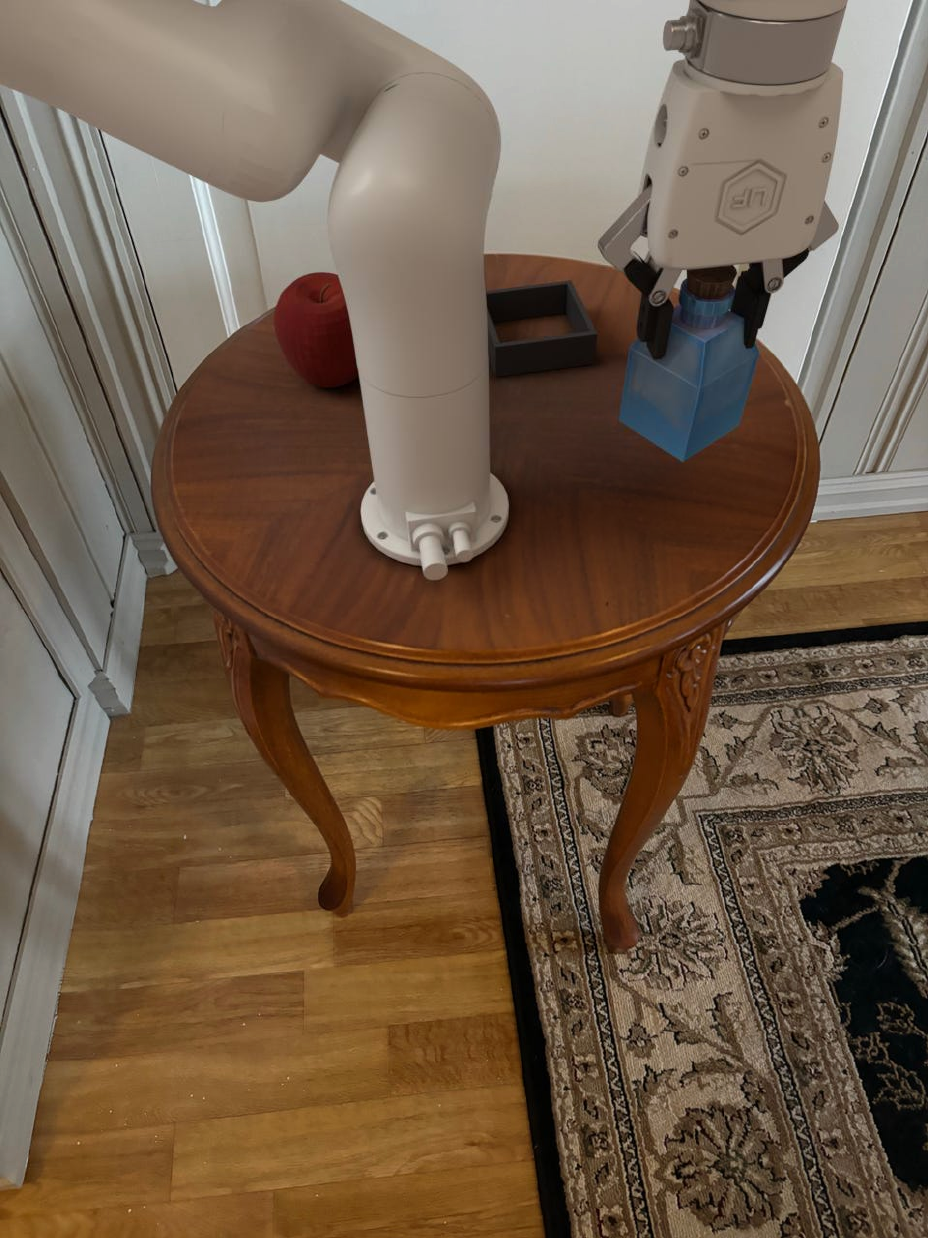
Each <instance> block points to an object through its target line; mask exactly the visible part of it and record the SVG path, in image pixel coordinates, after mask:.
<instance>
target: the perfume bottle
mask: <svg viewBox="0 0 928 1238" xmlns="http://www.w3.org/2000/svg"><path fill="white" fill-rule="evenodd" d="M737 275H738V270H737V268H736V266H735V265H730V266H720V267H711V268H701V269H690V270H686V277H685V279H684V280H682V281H681V284H680V287H679V292H678V298H677V299H678V305H676V306H673V307H674V312H673V317H672V323H671V328H670V333H669V339H668V344H667V349H666V355H665V356H664V357H663V358H662V359H658V360H654V359H653V358H652V356H651V354H650V352H649V350H648V348H647V345H646V342H640V340H639V338H638V337H637V339H636V340H635V341H634V342H633V343H632V345H631V346H630V347H629V352H628V358H627V364H626V371H625V376H624V383H623V390H622V397H621V402H620V403H621V404H620V411H619V418H618V421H619V422H621V423H622V424H623V425H625V426H627V427H628V428H629V429H631V430H633V431H634V432H636V433H637V434H639V435H640V436H641V437H643V438H645V439H647V440H648V441H650V443H653V444H654V445H656V446H657V447H658V448H660V449H662V450H663V451H665V452H666V453H668V454H670V455H671V456H672V457H674V458H676V459H677V460H679V461H680V462H682V463H684V462H685V461H688V460H689V459H690V458H691V457H694V456H695V455H696V454H698V453H700V452H701V451H703V450H704V449H705V448H707V447H709V446H711V445H712V444H713V443H715V442H717V441H718V440H719V439H721V438H723V437H724V436H726V435H727V434H729V433H730V432H732V431H733V430H735V429H737V428H738V427H739V426H740V424H741V420H742V416H743V414H744V410H745V407H746V403H747V400H748V396H749V392H750V388H751V385H752V381H753V379H754V378H753V377H754V376H755V375H754V374H755V371H756V367H757V364H758V360H759V356H760V350H759V348H758V346H757V343H756V342H755V344H754V347H753V348H750V349H746V346H745V345H744V320H745V319H744V318H742V317H740V316H738V315H736V314H734V313H732V312H730V309H731V306H732V303H733V299H734V294H735V288H736V287H735V285H733V284H734V281H735V279H736V277H737Z"/></svg>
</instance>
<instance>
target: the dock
mask: <svg viewBox="0 0 928 1238" xmlns="http://www.w3.org/2000/svg"><path fill="white" fill-rule="evenodd" d="M486 302H487V324H488V357H489V364H490V365H491V368H492V371H493V374H494V377H495V378H500V377H501V378H502V377H510V376H516V375H522V374H523V375H524V374H530V373H537V372H538V373H539V372H545V371H553V370H561V369H568V368H575V367H583V366H589V365H590V366H591V365H595V363H596V353H597V343H598V342H597V341H598V332H597V330H596V328H595V325H594V324H593V322H592V320H591V318H590V316H589V314H588V312H587V310H586V308H585V305H584V303H583V301H582V299H581V297H580V295H579V293H578V291H577V289H576V287H575V285H574V283H573V280H571V279H569V280H562V281H554V282H553V281H552V282H545V283H538V284H537V283H536V284H530V285H523V286H522V285H521V286H513V287H506V288H498V289H490V290H486ZM564 314H565V315H566V318H567V320H568V322H569V324H570V327H571V328H572V331H573V333H567V334H566V333H565V334H559V335H550V336H544V337H537V338H530V339H528V338H527V339H521V340H520V339H519V340H513V341H505V342H500V339H499V337H498V333H497V332H496V328H495V325H494V324H495V323H503V322H510V321H518V320H519V321H520V320H525V319H535V318H542V317H549V316H557V315H564Z"/></svg>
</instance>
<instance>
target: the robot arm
mask: <svg viewBox="0 0 928 1238" xmlns="http://www.w3.org/2000/svg"><path fill="white" fill-rule="evenodd" d="M848 1H849V0H689V4H688V8H687V9H688V10H687V12H686V14H685V15H681V16H680V17H679V18H678V19H671V20H666V22H665V24H664V26H663V32H662V44H663V48H664V51H666V52H668V51H669V52H670V51H677V53H679V54H682V55H683V56H684V59H680V60H676V61H674V63H673V64H672V67H671V70H670V72H669V75H668V77H667V79H666V83H665V86H664V88H663V91H662V95H661V98H660V101H659V104H658V107H657V110H656V111H657V112H656V113H655V117H654V121H653V124H652V128H651V132H650V135H649V140H648V144H647V148H646V153H645V157H644V163H643V167H642V171H641V177H640V182H639V187H638V193H637V197H636V199H634V200H633V202H631V203H630V205H629V206H628V207H627V208H626V209H625V210H624V212H623V213H621V215H620V216H619V217H618V218H617V219H616V220H615V221H614V222H613V223H612V225H611V226H610V227H609V228H608V229H607V230H606V231H605V232H604V233H603V234H602V235H601V236H600V238H599V239H598V241H597V247H598V249H599V252H600V254H601V255H602V257H603V259H604V260H605V261H606V262H607V263H609V264H610V265H611V266H612V267H614V268H615V269H616V270H617V271H618V272H619V273H621V274H622V275H623V276H625V277H626V278H627V280H628V281H629V282H630V283H631V284H632V285H633V286H634V287H635V288H636V289H637V290H638V291H639V292H640V293H641V295H640V303H639V309H638V315H637V322H636V336H637V339H638V338H639V340H640V342H646V345H647V348H648V350H649V352H650V354H651V356H652V358H653V359H654V360H658V359H662V358H663V357H664V356H665V355H666V349H667V344H668V339H669V333H670V328H671V323H672V317H673V312H674V307H675V306H674V304H673V303H672V301H671V299H670V294H671V293H672V291H673V290H674V287H675V285H676V283H677V282H678V279H679V277H680V276H681V273H683V271H687V270H690V269H701V268H711V267H720V266H730V265H733V266H737V265H748V269H747V270H741V271H740V274H739V276H737V281H736V284H735V287H734V288H735V294H734V299H733V303H732V306H731V308H730V310H729V311H730V312H732V313H734V314H736V315H738V316H740V317H742V318H744V319H745V320H744V345H745V346H746V349H750V348H753V347H754V344H755V343H756V339H757V336H758V334H759V333H758V332H759V330H760V329H762V328H763V325H764V322H765V320H766V315H767V312H768V308H769V304H770V301H771V297H772V294H774V293H777V292H779V291H780V290H781V289H782V287H783V285H784V279H786V277H787V276H789V275H791V273H792V272H793V271H795V270H796V269H797V268H798V267H799V266H801V264H802V263H804V262H805V261H806V260H807V258H808V257H809V255H810V253H811V252H814V251H816V250H817V249H818V248H820V247H821V246H822V245H823V244H824V243H825V242H827V241H828V240H829V239H831V238H833V236H835V234H836V233H837V232H838V230H839V228H840V224H839V222H838V221H837V219H836V217H835V215H834V214H833V212H832V210H831V208H830V206H829V204H828V203H827V202H826V200H825V199H826V195H827V190H828V186H829V182H830V177H831V173H832V172H831V171H832V166H833V162H834V157H835V153H836V145H837V140H838V133H839V125H840V116H841V107H842V98H843V84H844V71H843V69H842V68H841V67H840V66H839V65H838V64H836V63H834V62H832V61H833V57H834V54H835V50H836V46H837V42H838V39H839V36H840V33H841V32H840V31H841V28H842V23H843V20H844V17H845V14H846V9H847V6H848ZM0 85H2V86H3V87H6V88H8V89H11V90H13V91H16V92H18V93H20V94H23V95H25V96H27V97H30V98H32V99H35V100H37V101H39V102H42V103H44V104H46V105H48V106H50V107H54V108H56V109H57V110H60V111H62V112H64V113H66V114H69V115H71V116H73V117H75V118H77V119H78V120H81V121H82V122H84V123H87V124H89V125H91V126H92V127H94V128H96V129H97V130H99V131H101V132H103V133H105V134H107V135H109V136H111V137H112V138H114V139H117V140H118V141H121V142H122V143H124V144H127V145H128V146H131V147H133V148H134V149H136V150H138V151H140V152H143V153H145V154H147V155H149V156H151V157H153V158H155V159H157V160H159V161H161V162H163V163H166V164H167V165H169V166H172V167H173V168H175V169H177V170H179V171H181V172H183V173H185V174H188V175H189V176H192V177H194V178H196V179H197V180H200V181H201V182H203V183H205V184H208V185H209V186H212V187H213V188H215V189H218V190H219V191H222V192H224V193H227V194H229V195H230V196H234V197H236V198H239V199H242V200H245V201H250V202H256V203H267V202H268V203H269V202H274V201H278V200H280V199H282V198H284V197H286V196H287V195H290V194H291V193H292V192H293V191H295V189H297V187H298V186H299V185H301V183H302V182H303V180H305V178H306V177H307V175H308V174H309V173H310V171H311V170H312V169H313V167H314V165H315V164H316V162H317V160H318V159H319V157H320V155H321V156H323V157H325V158H327V159H329V160H331V161H334V162H335V163H337V164H339V165H338V166H337V169H336V172H335V175H334V178H333V181H332V185H331V188H330V191H329V198H328V204H327V205H328V206H327V218H326V219H327V236H328V243H329V248H330V252H331V257H332V260H333V264H334V267H335V271H336V274H337V275H338V277H339V280H340V283H341V286H342V290H343V293H344V297H345V300H346V305H347V309H348V314H349V319H350V324H351V330H352V335H353V342H354V349H355V355H356V362H357V368H358V372H359V376H358V379H359V385H360V391H361V392H360V393H361V398H362V406H363V413H364V419H365V427H366V433H367V439H368V440H367V441H368V446H369V447H368V448H369V453H370V461H371V467H372V472H373V474H372V475H373V482H372V483H371V484H370V485H369V487H368V488H367V490H366V491H365V493H364V495H363V498H362V500H361V505H360V516H361V518H360V519H361V524H362V527H363V531H364V534H365V536H366V537H367V539H368V541H369V542H370V543H371V544H372V545H373V546H374V547H375V548H376V549H377V550H378V551H379V552H381V553H382V554H384V555H385V556H387V557H389V558H391V559H394V560H396V561H398V562H401V563H405V564H408V565H411V566H420V567H421V568H422V569H421V570H422V573H423V577H424V578H426V580H429V581H439V580H441V579H443V578H445V577H446V576H447V575H448V572H449V569H448V568H449V567H448V566H449V565H456V564H459V563H467V562H470V561H471V560H472V559H474V558H475V557H477V556H479V555H481V554H483V553H484V552H485V551H487V550H488V549H490V548H491V547H492V546H494V544H495V543H496V542H497V541H498V540H499V539H500V538H501V536H502V535H503V533H504V532H505V529H506V527H507V524H508V521H509V515H510V514H509V513H510V512H509V511H510V503H509V498H508V497H509V496H508V493H507V491H506V489H505V487H504V485H503V484H502V482H501V481H500V480H499V478H497V476H495V475H494V474H493V473H492V472H491V440H490V439H491V438H490V437H491V436H490V434H491V433H490V430H491V429H490V428H491V427H490V369H489V368H490V366H489V365H490V360H489V357H488V324H487V302H486V291H487V290H486V279H485V278H486V277H485V237H486V228H487V218H488V214H489V209H490V205H491V202H492V197H493V192H494V191H493V190H494V185H495V181H496V177H497V174H498V170H499V164H500V161H501V160H500V158H501V151H502V134H501V127H500V122H499V119H498V115H497V111H496V110H495V107H494V105H493V103H492V101H491V99H490V97H489V96H488V95H487V94H486V92H485V90H484V89H483V88H482V86H481V85H480V84H479V83H478V82H477V81H475V79H474V78H472V76H470V75H469V74H468V73H466V72H465V71H464V70H463V69H461V68H460V67H458V66H457V65H455V64H454V63H453V62H451V61H449V60H447V59H446V58H445V57H443V56H441V55H439V54H437V53H436V52H434V51H432V50H430V49H429V48H427V47H425V46H423V45H422V44H420V43H418V42H416V41H414V40H413V39H411V38H409V37H408V36H406V35H403V34H402V33H401V32H398V31H397V30H395V29H393V28H391V27H389V26H388V25H386V24H384V23H382V22H380V21H379V20H377V19H375V18H373V17H372V16H370V15H368V14H366V13H365V12H363V11H361V10H359V9H357V8H356V7H354V6H352V5H350V4H349V3H347V2H345V1H343V0H220V1H219V2H218V3H217V4H216V5H214V6H213V5H212V6H211V5H208V4H205V3H202V2H199V1H196V0H0ZM640 237H642V238H643V237H644V238H647V248H648V251H647V253H646V255H645V257H644V259H643V258H642V257H641V256H640V255H639V254H638V253H637V252H635V251H634V250H632V249H631V248H632V246H633V244H634V243H635V242H636V241H637V240H638V239H639V238H640Z"/></svg>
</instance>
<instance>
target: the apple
mask: <svg viewBox="0 0 928 1238" xmlns="http://www.w3.org/2000/svg"><path fill="white" fill-rule="evenodd" d="M273 327H274V332H275V333H274V334H275V336H276V340H277V342H278V345H279V348H280V350H281V352H282V354H283V356H284V357H285V359H286V361H287V363H288V364H289V365H290V367H291V369H293V371H294V372H295V373H296V375H298V376H299V377H300V378H301V379H302V380H303V381H304V382H306V383H308V384H310V385H312V386H314V387H318V388H328V389H329V388H336V387H342V386H345V385H347V384H350V383H351V382H353V381H354V380H356V379H357V378H359V372H358V368H357V362H356V355H355V349H354V342H353V335H352V330H351V324H350V319H349V314H348V309H347V305H346V300H345V297H344V293H343V290H342V286H341V283H340V280H339V277H338V274H337V273H332V272H327V271H325V272H324V271H319V272H318V271H317V272H311V273H306V274H303V275H301V276H299V277H297V278H296V279H294V280H293V281H292V282H291V283H290V284H289V285H288V286H286V288H285V289H283V291H282V292H281V294H280V295H279V297H278V300H277V303H276V305H275V307H274V316H273Z"/></svg>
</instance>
